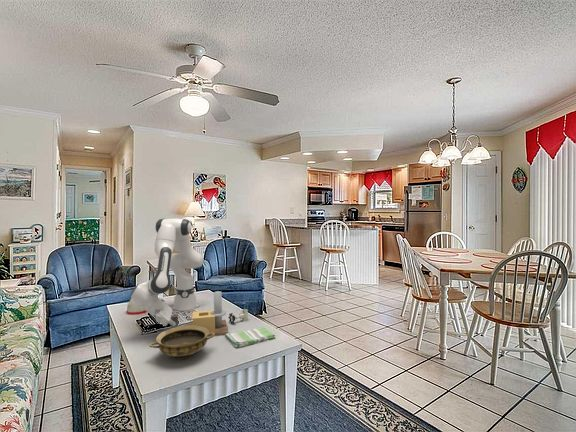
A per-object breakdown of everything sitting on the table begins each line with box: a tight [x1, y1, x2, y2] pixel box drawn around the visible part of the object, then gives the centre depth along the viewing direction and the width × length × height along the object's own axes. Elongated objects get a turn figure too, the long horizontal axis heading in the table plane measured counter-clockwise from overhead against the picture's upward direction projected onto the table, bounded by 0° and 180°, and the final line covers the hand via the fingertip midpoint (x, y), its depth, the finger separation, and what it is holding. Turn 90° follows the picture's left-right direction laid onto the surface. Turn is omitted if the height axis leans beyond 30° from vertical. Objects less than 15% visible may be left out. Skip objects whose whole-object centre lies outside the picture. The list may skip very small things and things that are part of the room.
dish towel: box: [224, 326, 276, 349], centre depth 169 cm, size 17×23×4 cm
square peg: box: [170, 314, 179, 329], centre depth 175 cm, size 4×4×10 cm
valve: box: [228, 308, 249, 325], centre depth 193 cm, size 7×7×12 cm
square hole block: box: [192, 290, 227, 331], centre depth 180 cm, size 12×18×20 cm, turn 106°
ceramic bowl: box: [148, 325, 215, 359], centre depth 150 cm, size 30×24×10 cm
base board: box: [185, 319, 229, 338], centre depth 180 cm, size 20×23×2 cm
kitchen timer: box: [126, 297, 148, 316], centre depth 214 cm, size 14×14×15 cm
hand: (175, 323), depth 175 cm, fingers closed on square peg, 4 cm apart
